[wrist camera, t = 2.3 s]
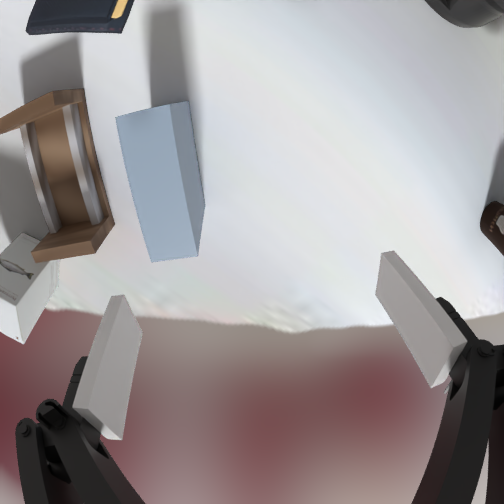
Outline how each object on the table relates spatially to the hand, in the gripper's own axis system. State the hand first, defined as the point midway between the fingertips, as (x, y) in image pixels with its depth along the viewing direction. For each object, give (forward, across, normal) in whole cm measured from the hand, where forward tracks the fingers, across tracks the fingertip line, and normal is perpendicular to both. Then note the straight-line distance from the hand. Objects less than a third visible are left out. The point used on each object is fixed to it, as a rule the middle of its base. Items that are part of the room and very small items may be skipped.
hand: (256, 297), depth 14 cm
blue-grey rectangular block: (+20, -6, +4) cm, 21 cm away
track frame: (+20, -20, +6) cm, 29 cm away
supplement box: (+21, -30, -5) cm, 37 cm away
